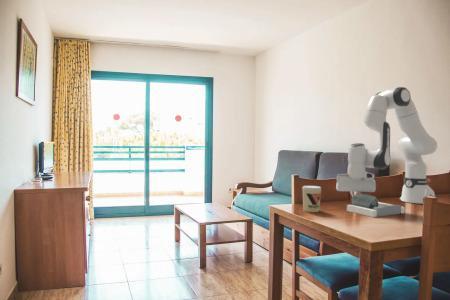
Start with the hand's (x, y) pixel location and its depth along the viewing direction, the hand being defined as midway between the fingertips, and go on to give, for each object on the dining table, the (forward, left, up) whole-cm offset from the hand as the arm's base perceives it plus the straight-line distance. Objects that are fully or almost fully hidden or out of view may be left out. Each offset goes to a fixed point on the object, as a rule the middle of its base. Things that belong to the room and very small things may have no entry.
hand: (355, 199), depth 198 cm
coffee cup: (+28, -3, -4) cm, 29 cm away
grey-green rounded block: (+1, +7, -4) cm, 9 cm away
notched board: (0, +13, -4) cm, 14 cm away
